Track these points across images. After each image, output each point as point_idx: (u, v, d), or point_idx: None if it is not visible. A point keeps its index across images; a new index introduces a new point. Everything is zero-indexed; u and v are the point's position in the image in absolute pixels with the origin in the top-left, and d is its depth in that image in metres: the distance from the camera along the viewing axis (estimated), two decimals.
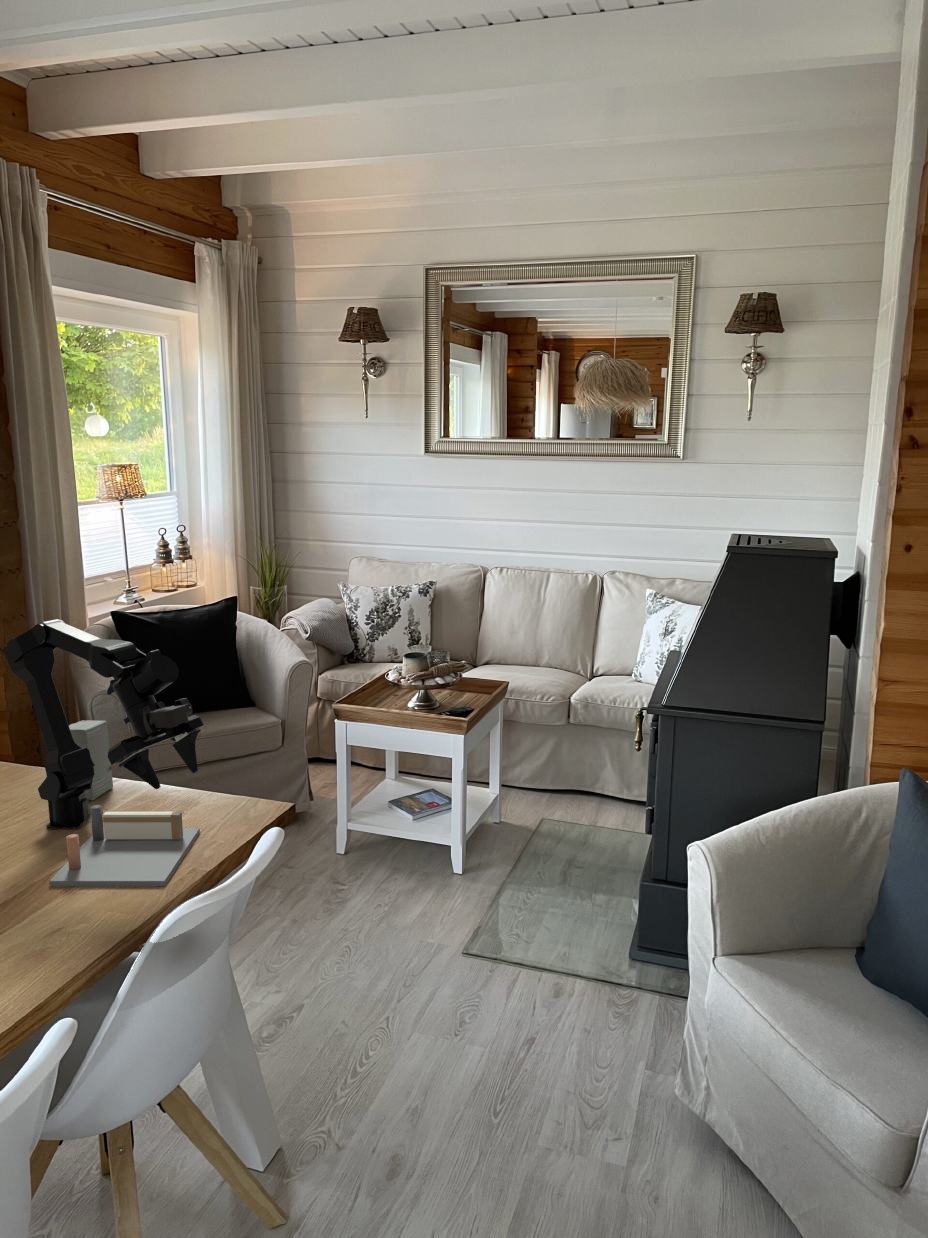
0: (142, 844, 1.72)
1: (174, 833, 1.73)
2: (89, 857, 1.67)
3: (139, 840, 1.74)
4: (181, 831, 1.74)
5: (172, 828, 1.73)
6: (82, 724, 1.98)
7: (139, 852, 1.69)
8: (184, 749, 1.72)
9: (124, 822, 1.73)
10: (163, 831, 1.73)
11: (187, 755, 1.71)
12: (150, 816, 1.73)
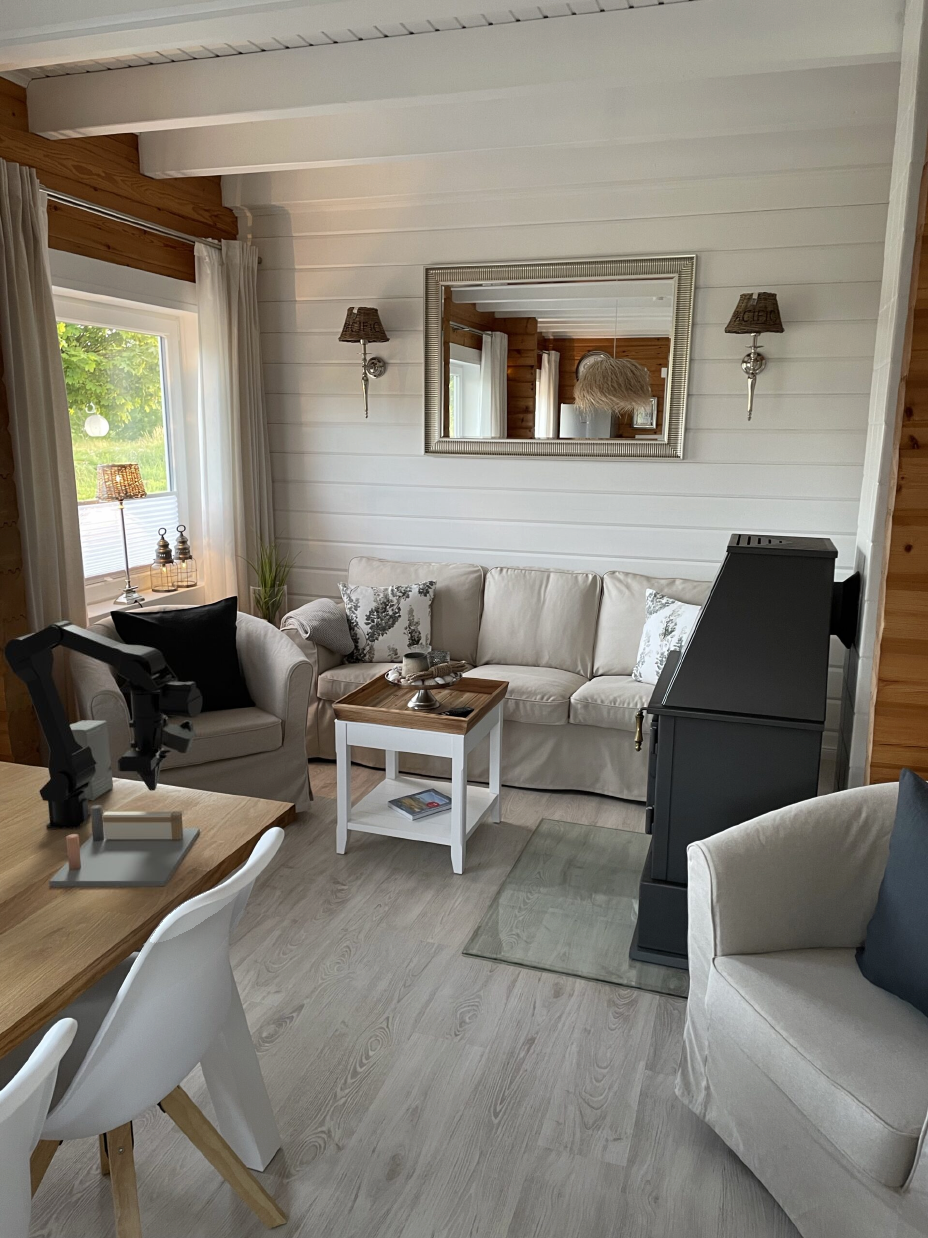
0: (142, 844, 1.72)
1: (174, 833, 1.73)
2: (89, 857, 1.67)
3: (139, 840, 1.74)
4: (181, 831, 1.74)
5: (172, 828, 1.73)
6: (82, 724, 1.97)
7: (139, 852, 1.69)
8: None
9: (124, 822, 1.73)
10: (163, 831, 1.73)
11: None
12: (150, 816, 1.73)
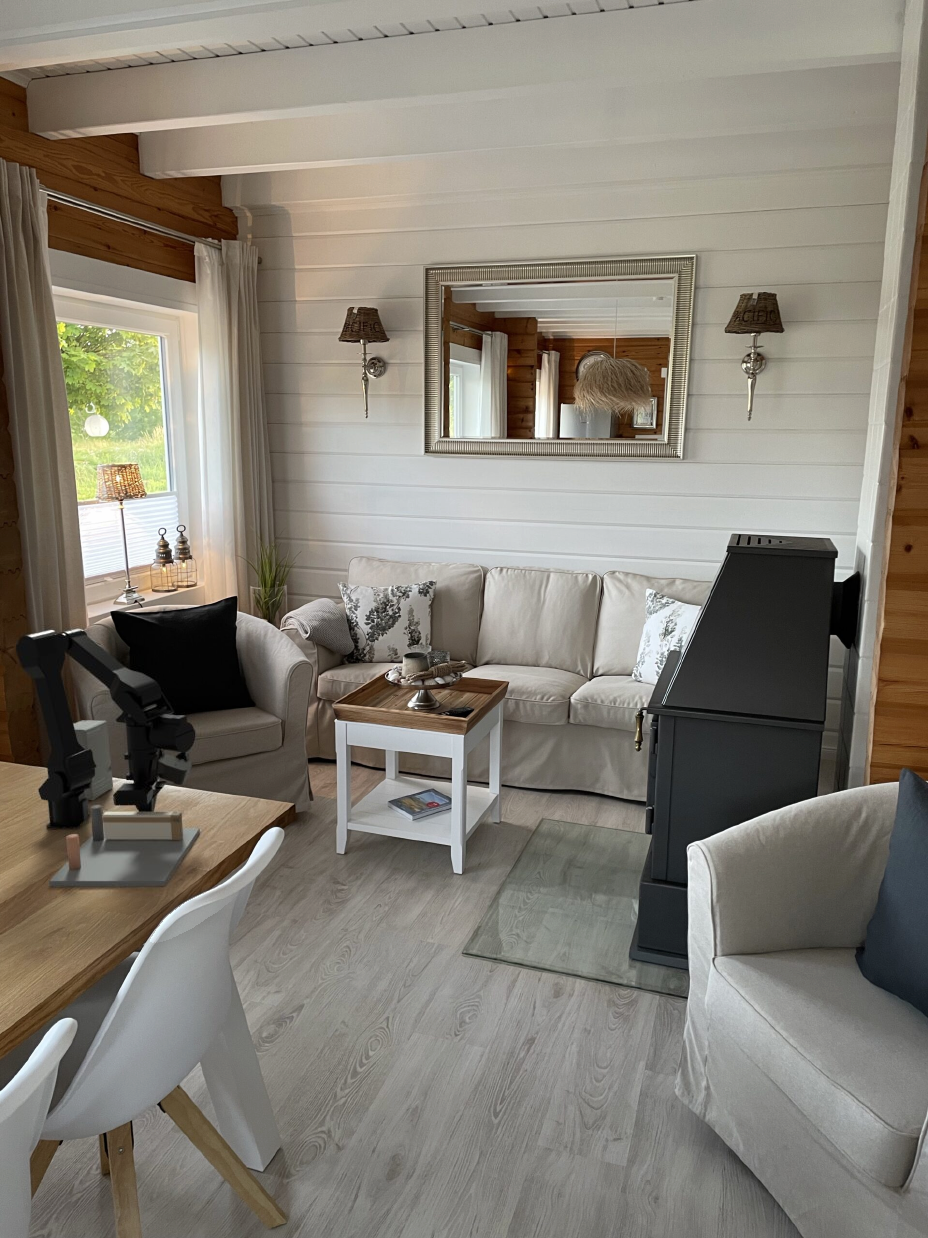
0: (142, 844, 1.72)
1: (174, 833, 1.73)
2: (89, 857, 1.67)
3: (139, 840, 1.74)
4: (180, 831, 1.74)
5: (172, 828, 1.73)
6: (82, 724, 1.98)
7: (139, 852, 1.69)
8: None
9: (124, 822, 1.73)
10: (162, 831, 1.73)
11: None
12: (150, 816, 1.73)
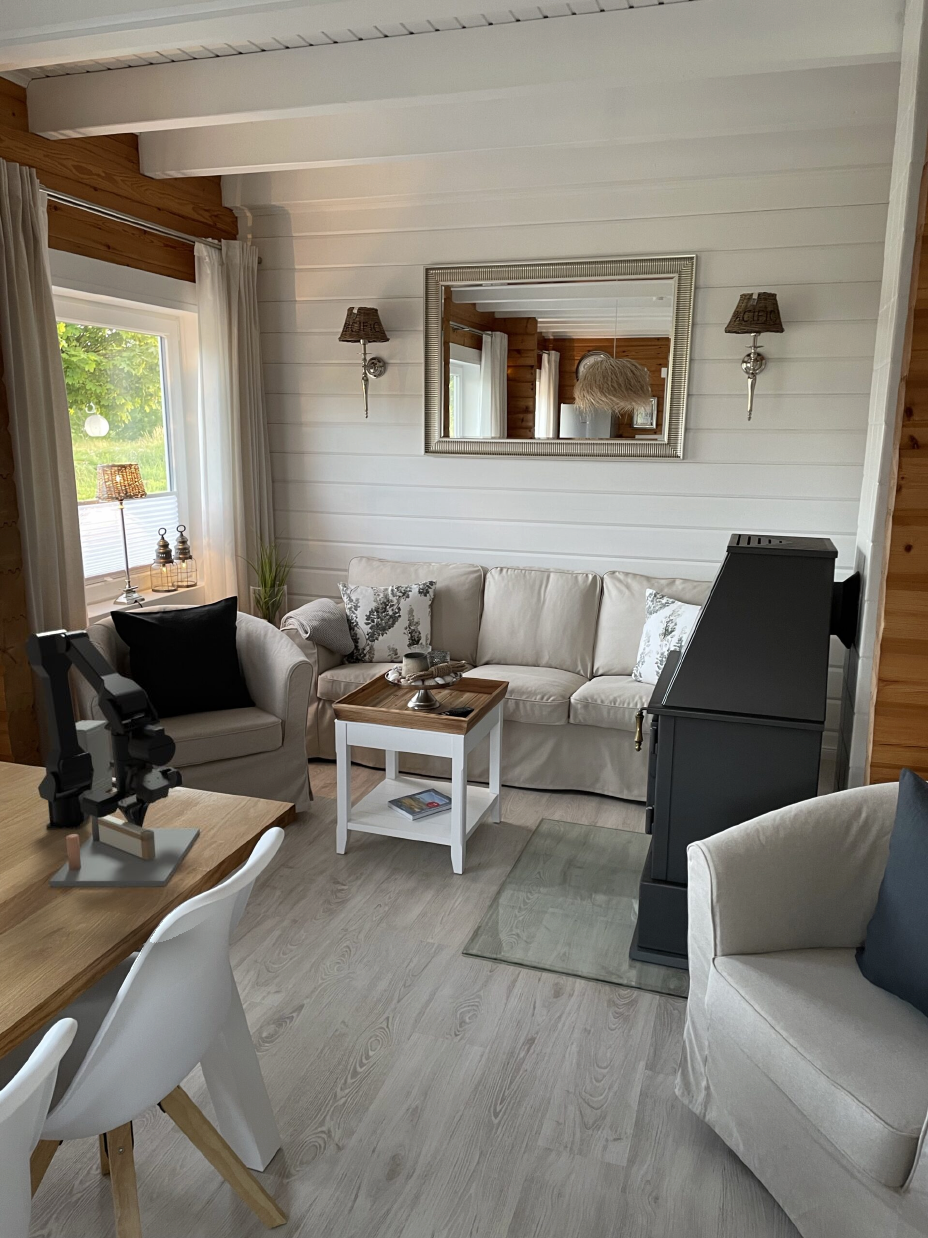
0: None
1: (143, 852, 1.65)
2: (89, 857, 1.67)
3: None
4: (150, 852, 1.65)
5: (142, 847, 1.65)
6: (82, 724, 1.97)
7: None
8: None
9: (111, 828, 1.70)
10: (136, 847, 1.66)
11: None
12: (127, 829, 1.67)
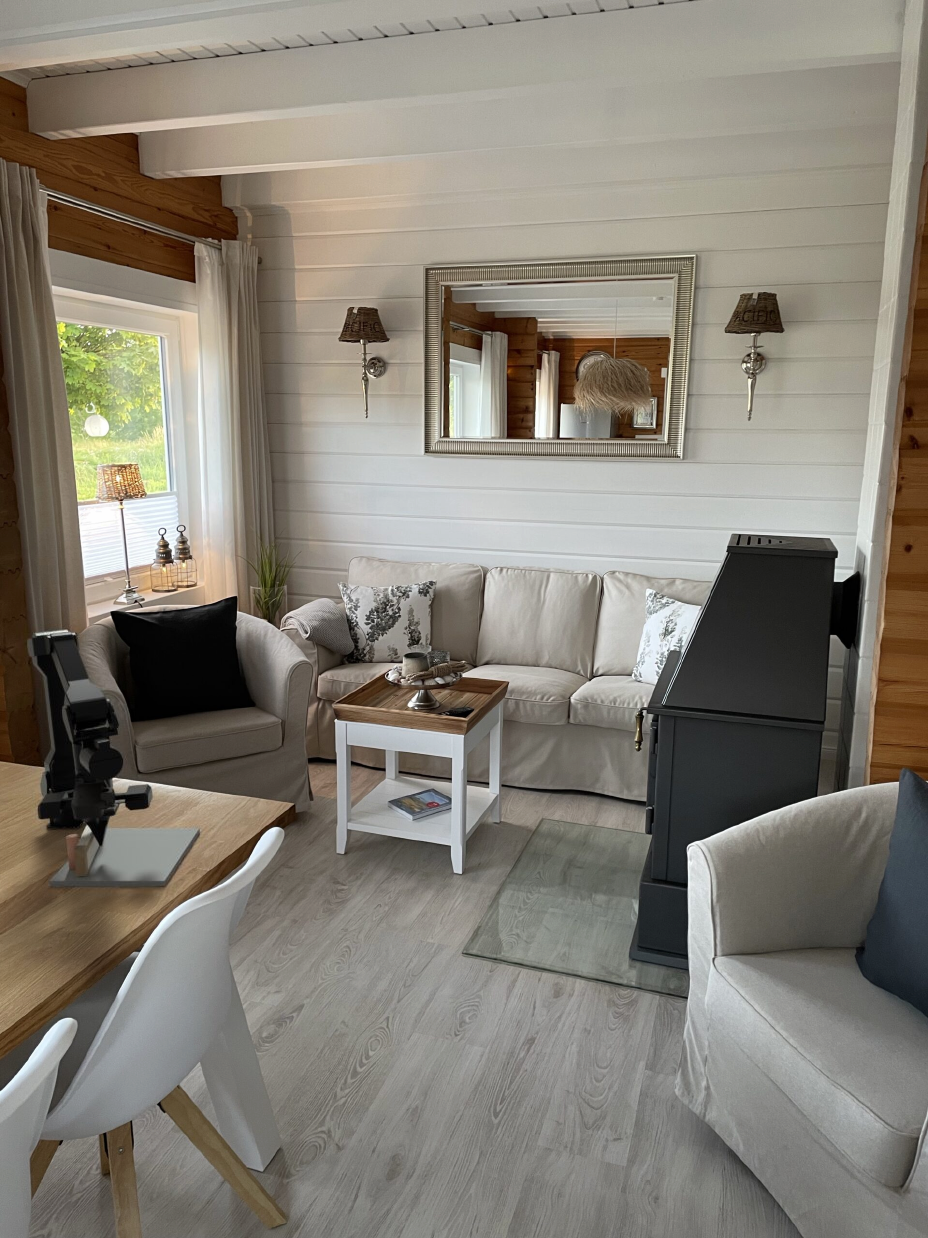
0: (142, 844, 1.72)
1: None
2: None
3: (139, 840, 1.74)
4: (79, 868, 1.59)
5: None
6: None
7: (139, 852, 1.69)
8: None
9: None
10: None
11: None
12: (81, 838, 1.63)
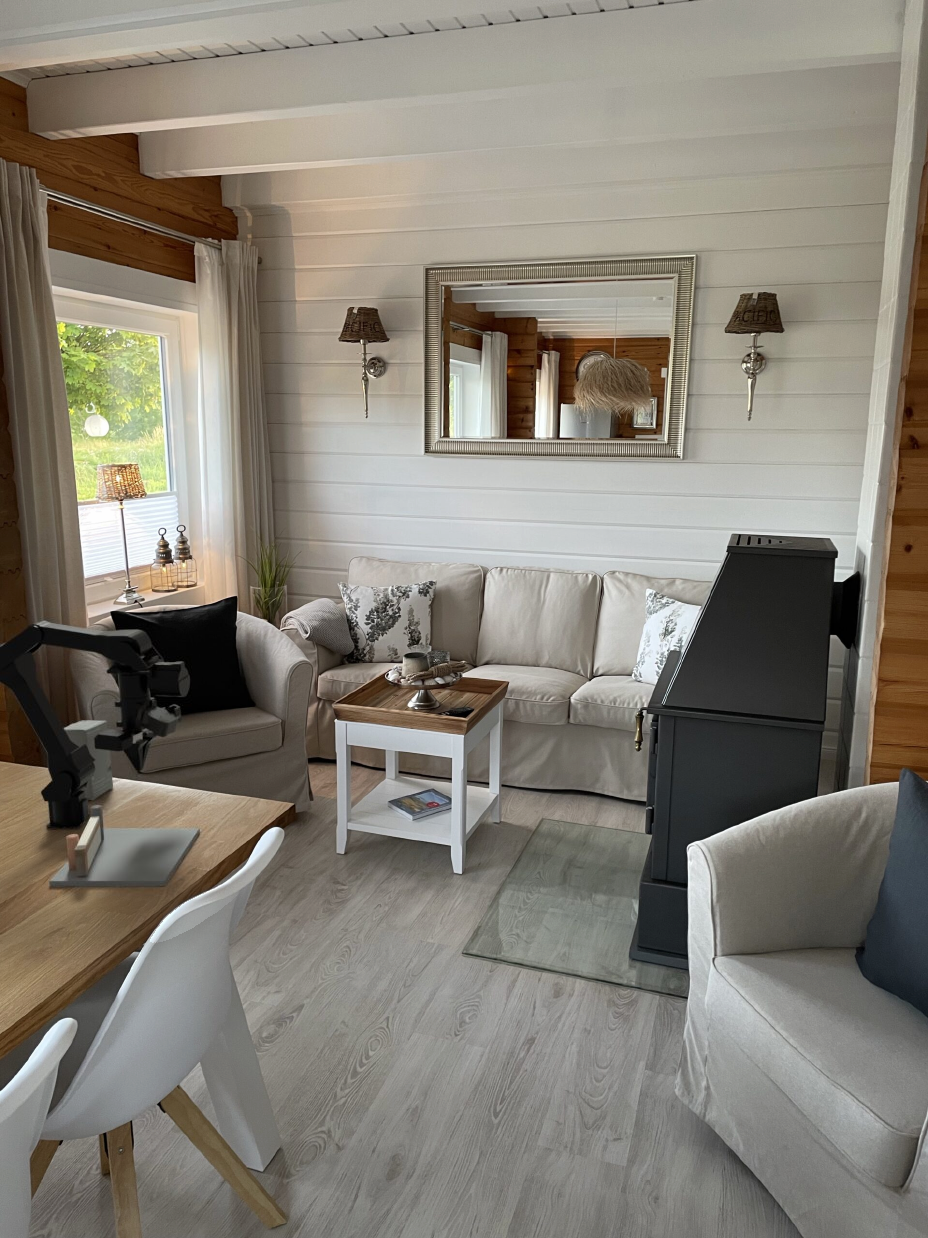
0: (142, 844, 1.72)
1: None
2: None
3: (139, 840, 1.74)
4: (79, 868, 1.59)
5: None
6: (82, 724, 1.98)
7: (139, 852, 1.69)
8: None
9: None
10: None
11: None
12: (81, 838, 1.63)
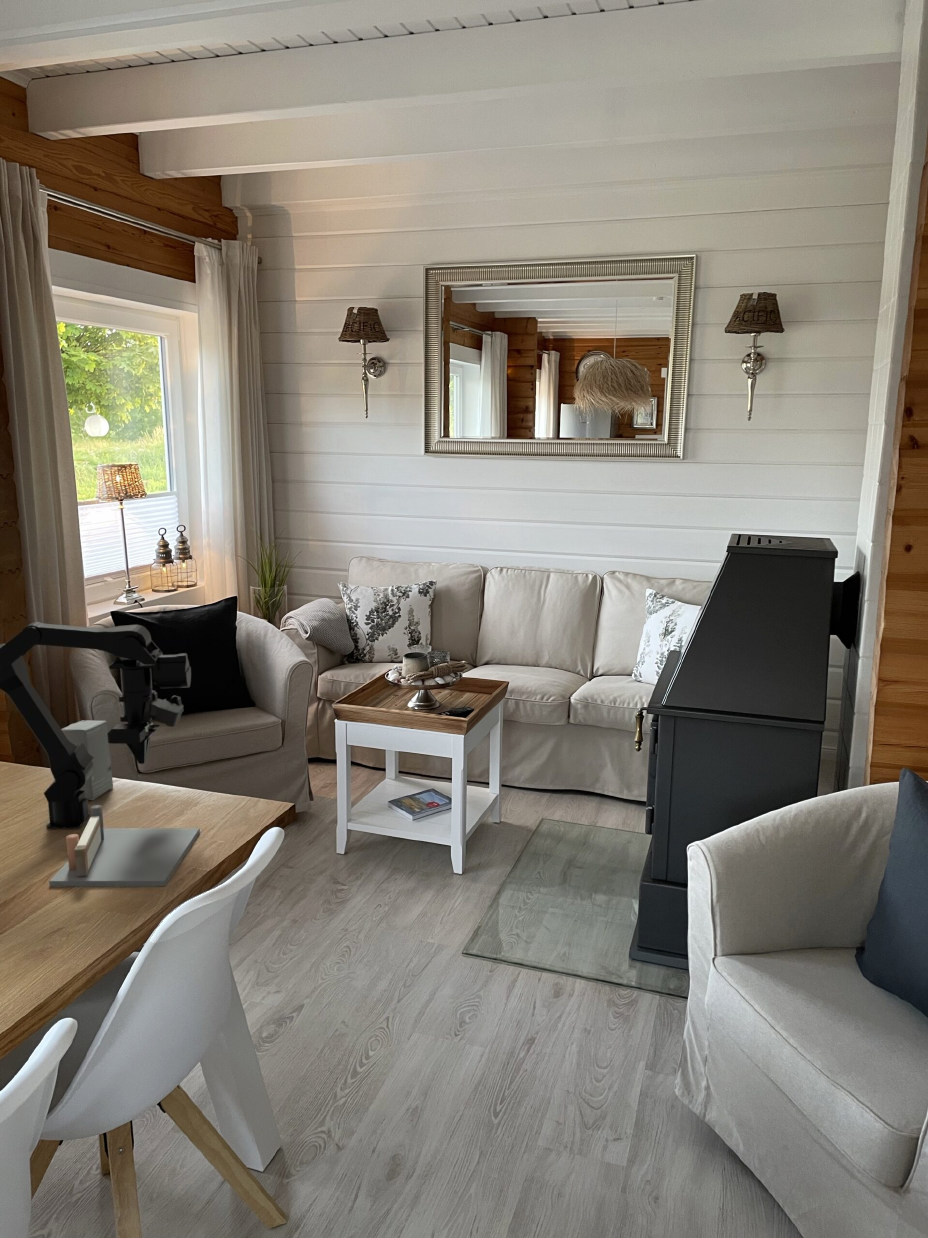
0: (142, 844, 1.72)
1: None
2: None
3: (139, 840, 1.74)
4: (79, 868, 1.59)
5: None
6: (82, 724, 1.97)
7: (139, 852, 1.69)
8: None
9: None
10: None
11: None
12: (81, 838, 1.63)
